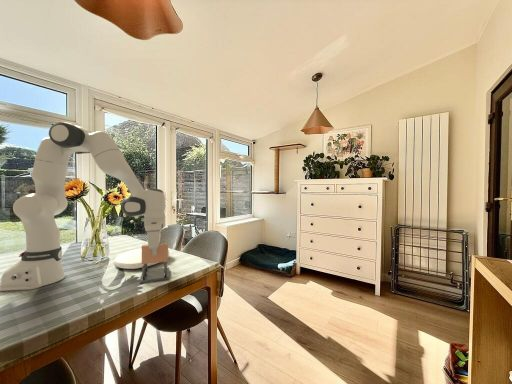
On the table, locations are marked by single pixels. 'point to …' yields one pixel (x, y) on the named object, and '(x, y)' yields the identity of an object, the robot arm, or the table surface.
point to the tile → (160, 257)
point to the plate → (131, 259)
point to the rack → (154, 274)
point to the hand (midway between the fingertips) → (155, 253)
